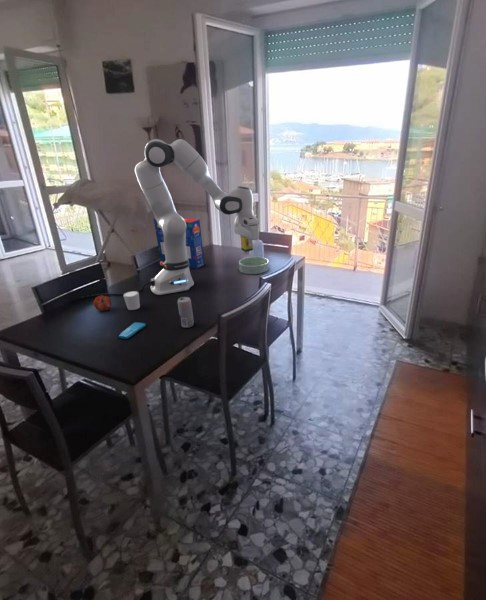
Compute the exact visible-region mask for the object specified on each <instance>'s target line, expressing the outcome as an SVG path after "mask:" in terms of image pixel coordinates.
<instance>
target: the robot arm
mask: <svg viewBox="0 0 486 600" xmlns="http://www.w3.org/2000/svg"><path fill="white" fill-rule="evenodd" d="M143 152H144V157H145V158H144V160H142V161H140V162H137V164H136V165H135V167H134V173H135V176H136V179H137V182H138V184H139V187H140V189H141V190H142V193H143V194H144V196H145V199H146V201H147V203H148V205H149V207H150V209H151V211H152V214H153V216H154V219H156V221H157V223H158V225H159V227H160V228H161V229H162V230H163V234H164V252H165V258H166V261H165V262H162V261H161V260H160V261H159V265H160V266H161V267H162V269H161V270H160V271H159V272H158V273H157V274H156V275H155V276H154V277H151V278H150V281H149V282H146V283H145V284H143V286H142V288H141V289H139V290H136V291H137V292H138V293H141V292H142V291H143V290H144V289H145V288H146V287H147V286H148V285H150V284H151V285H150V291H151V293H153V294H154V295H157V296H162V295H163V296H164V295H169V294H174V293H175V294H176V293H179V292H185V291H189V290H190V288H191V287H193V286H194V285H195V282H194V280H193V277H192V274H191V270H190V269H191V268H190V267H189V266H190V265H189V260H188V258H187V251H186V223H185V220H184V219H183V218H184V217H183V216H182V215H180V214H179V213H178V212H177V210H176V209H177V208H176V206H175V204H174V201H173V198H172V195H171V193H170V190H169V188H168V186H167V184H166V182H165V180H164V177H163V176H162V173H161V168H163V167H166V166H167V165H169V164H171V163H174V164H175V165H176V166H177V167H178V168H179V169H180V170H181V171H182V172H183V173H184V174H185V176H187V177H188V178H189V179H190V180H192V181H193V182H195V183H197V184H198V185H200V186H201V187H202V188H203V189H204V190H205V192H207V193H208V195H209V196H210V197H211V199H212V201H213V204H214V206H215V209H217V210H218V211H219V212H221V213H223V214H224V215H228V216H229V215H233V214H236V217H235V219H234V222H233V223H234V224H233V225H234V226H233V229H234V234H237V235H239V238H241V237H246V238H248V243H247V245H248V246H251V245H252V240H256V239H258V238H260V232H259V231H260V227H259V224H260V220H259V219H258V217H256V216H255V215H254V208H253V206H254V197H253V192H252V190H251V188H249V187H246V186H241V185H240V186H236V187H235V188H234V189H232V191H230V192H227V191H225V190H223V189H222V188H220V186H219V185H218V184H217V183H216V182H215V180H214V179H213V177H211V175H210V172H209V166H208V165H207V163H206V160H204V158H203V157H202V156H201V154H199V152H198V150H196V149H195V148H194V147H193V146H192V145H191V144H190V143H189V142H188V141H186V140H185V139H182V138H179V139H176V140H174V141H173V142H171V143H167V142H166V141H165V140H164V139H162V138H158V137H155V138H152V139H151V138H150V140H149V141H148V142H146V144H145V146H144V151H143ZM125 293H126V292H124V293H96V294H90V295H91V296H89V295H85V296H86V297H84V296H81V297H82V298H79V300H80V299H88V298H94V297H98V296H101V295H103V296H123V295H124V294H125Z"/></svg>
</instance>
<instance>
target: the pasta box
mask: <svg viewBox="0 0 486 600" xmlns="http://www.w3.org/2000/svg"><path fill="white" fill-rule="evenodd" d="M183 219H184V220H185V223H186V251H187V258H188V260H189V265H190V266H189V267H190V268H189V269H196V270H197V269H199V268H201V267H203V266H205V256H204V255H205V254H204V246H203V236H202V228H201V221H200V219H198V218H188V217H187V218H185V217H183ZM153 223H154V230H155V235H156V241H157V247H158V253H159V258H160V259H159V260H160V262H161V261H162V262H165V261H166V258H165V252H164V234H163V230H162V229H161V228H160V227H159V225H158V223H157V221H156V218H153Z"/></svg>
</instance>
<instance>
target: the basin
mask: <svg viewBox="0 0 486 600" xmlns="http://www.w3.org/2000/svg"><path fill="white" fill-rule="evenodd" d="M269 270H270V260H269V259H268V258H266V257H264V258H263V257H250V256H247V257H244V258H241V259H239V261H238V271H239V272H240V273H242V274H245V275H259V274H261V275H262V274H264V273H266V272H267V271H269Z"/></svg>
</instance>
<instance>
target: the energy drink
mask: <svg viewBox="0 0 486 600" xmlns="http://www.w3.org/2000/svg"><path fill="white" fill-rule="evenodd" d="M177 308H178V314H179V321H180V326H181V328H184V329H188V328H191V327H193V326H194V325H195V320H194V313H193V306H192V300H191V298H190V296H181V297H179V298H178V299H177Z"/></svg>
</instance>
